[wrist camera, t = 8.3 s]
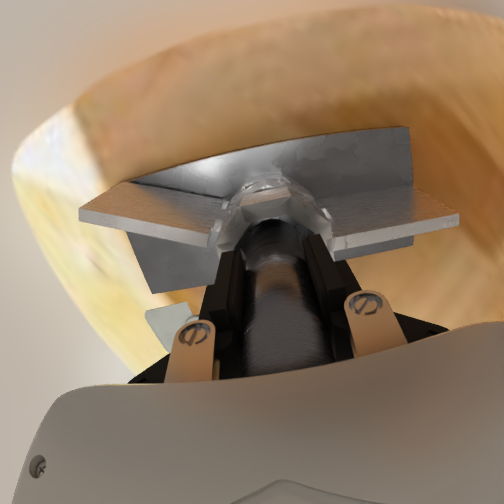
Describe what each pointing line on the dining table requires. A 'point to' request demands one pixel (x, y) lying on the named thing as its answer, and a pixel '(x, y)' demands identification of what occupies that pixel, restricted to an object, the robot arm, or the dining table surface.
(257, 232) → the hinge pin
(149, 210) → the hinge leaf
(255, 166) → the hinge stand
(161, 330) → the mounting bracket
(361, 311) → the robot arm
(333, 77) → the dining table surface
